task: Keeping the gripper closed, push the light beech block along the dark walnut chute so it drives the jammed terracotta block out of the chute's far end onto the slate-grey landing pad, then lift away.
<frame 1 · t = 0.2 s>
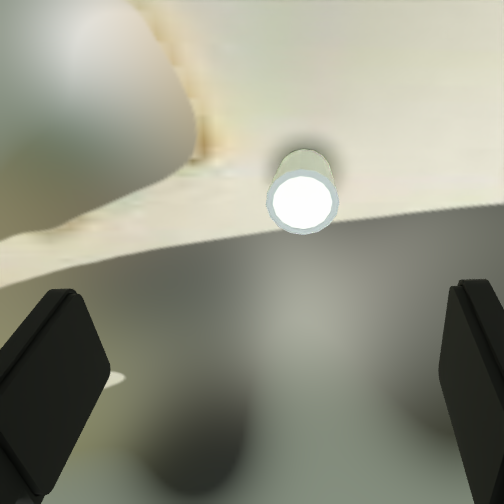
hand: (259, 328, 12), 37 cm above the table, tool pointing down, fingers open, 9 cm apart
shot glass: (304, 173, 48), on the table
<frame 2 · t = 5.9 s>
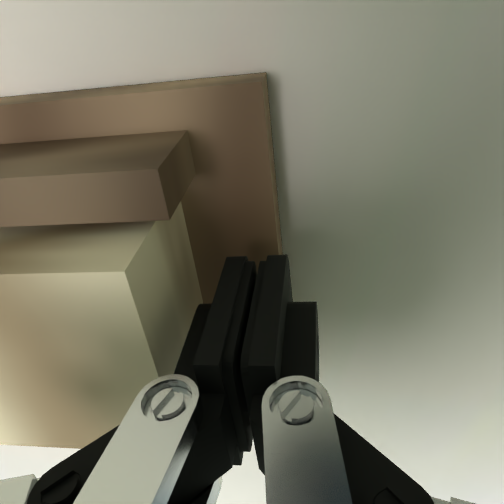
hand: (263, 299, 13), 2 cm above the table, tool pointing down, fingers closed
beech block: (106, 277, 14), point 1 cm above the table, touching gripper
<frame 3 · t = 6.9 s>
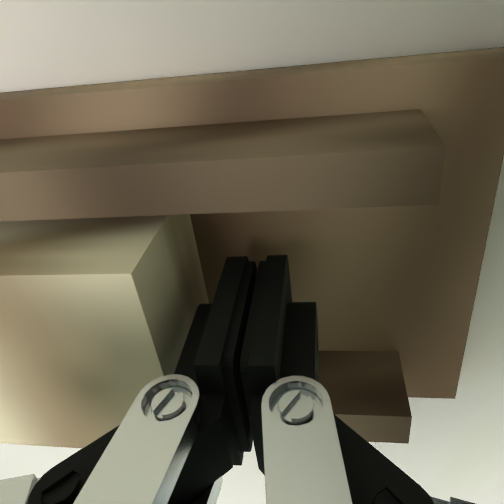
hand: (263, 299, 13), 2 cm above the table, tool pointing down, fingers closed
chute: (108, 256, 15), on the table
beech block: (112, 278, 14), point 1 cm above the table, touching chute, gripper
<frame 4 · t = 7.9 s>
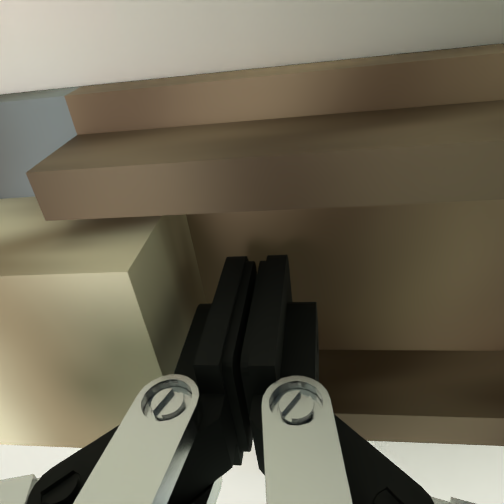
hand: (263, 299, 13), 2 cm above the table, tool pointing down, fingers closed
chute: (206, 253, 15), on the table
beech block: (110, 278, 14), point 1 cm above the table, touching chute, gripper, terracotta block
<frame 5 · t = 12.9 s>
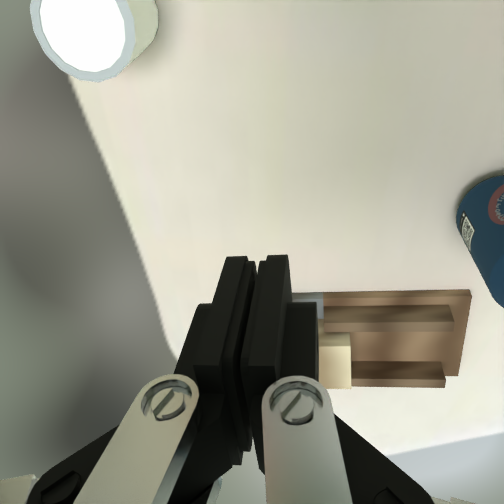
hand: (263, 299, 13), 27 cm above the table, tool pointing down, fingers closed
chute: (348, 332, 48), on the table
soda can: (494, 205, 39), on the table
beech block: (320, 340, 48), point 1 cm above the table, touching chute, terracotta block
shot glass: (123, 14, 34), on the table
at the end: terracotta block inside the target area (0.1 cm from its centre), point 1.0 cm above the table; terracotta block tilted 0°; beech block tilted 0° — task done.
